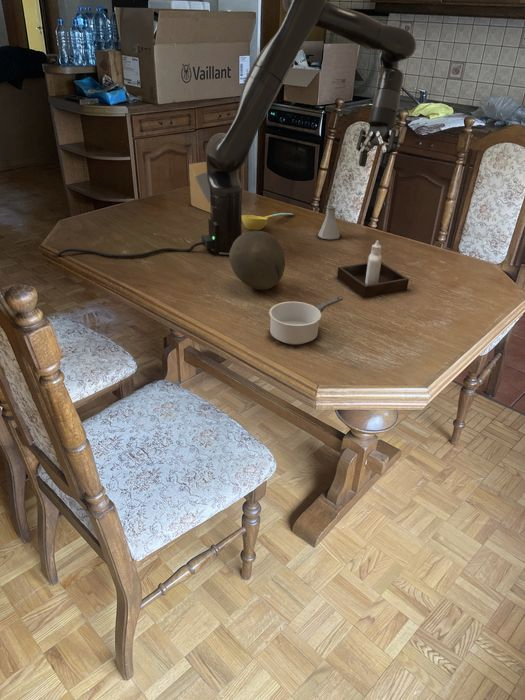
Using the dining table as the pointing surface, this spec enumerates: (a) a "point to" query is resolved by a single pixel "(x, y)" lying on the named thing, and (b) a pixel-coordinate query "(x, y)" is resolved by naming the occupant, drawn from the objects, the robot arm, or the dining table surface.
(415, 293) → the dining table surface
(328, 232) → the flask
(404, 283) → the tray
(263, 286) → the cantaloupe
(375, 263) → the eye dropper bottle
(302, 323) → the saucepan
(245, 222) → the ladle
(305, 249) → the dining table surface
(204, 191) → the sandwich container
